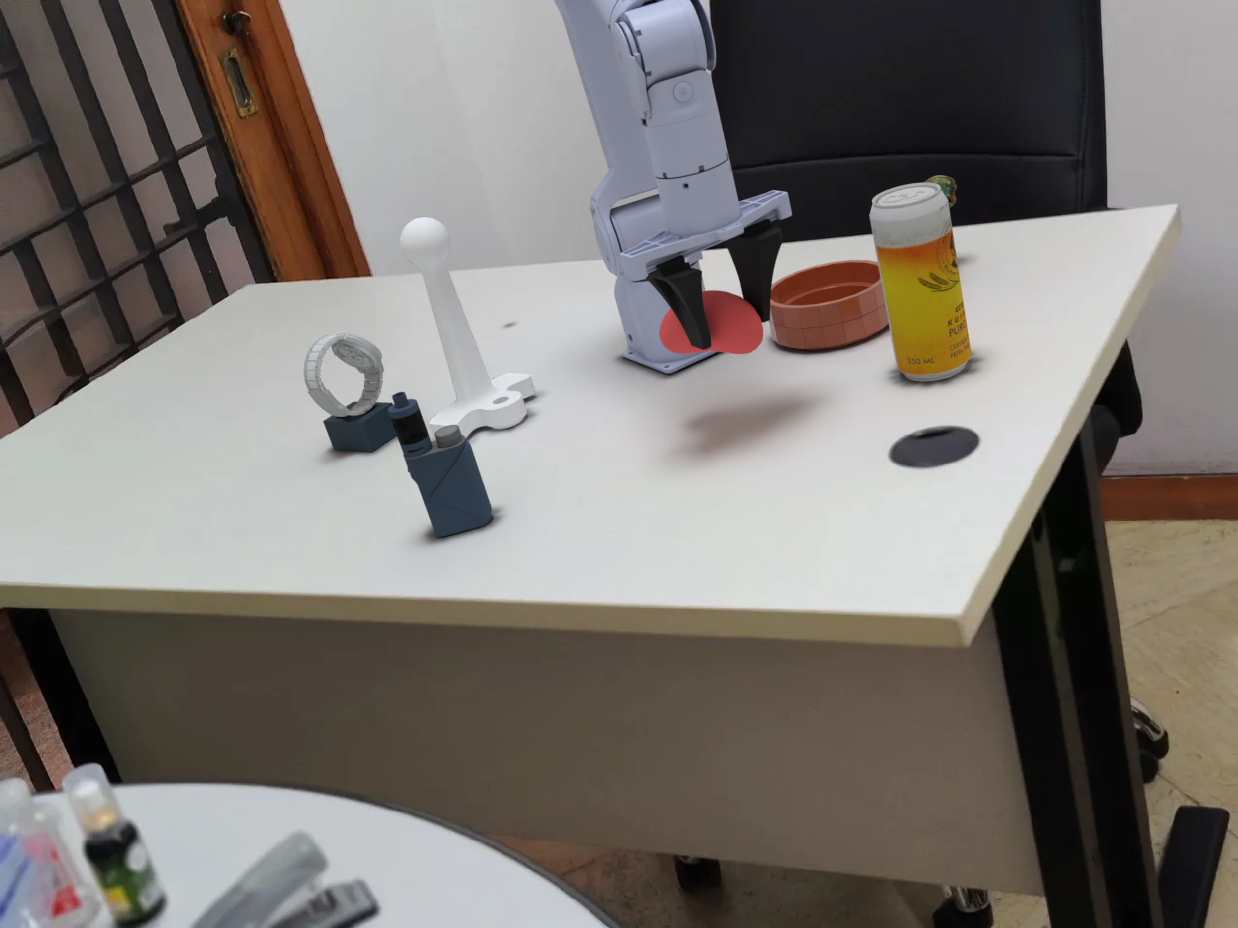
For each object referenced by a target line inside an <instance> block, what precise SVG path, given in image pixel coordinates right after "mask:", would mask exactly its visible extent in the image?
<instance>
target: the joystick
mask: <svg viewBox="0 0 1238 928" xmlns="http://www.w3.org/2000/svg"><path fill="white" fill-rule="evenodd" d="M399 246H400V251H401V252H402V254H403V256H404V257H405V259H406V260H407V261H408V262H410V263H411V264H412V265H414V266H415V267H416V268H417V269H418V270H419V272H420V274H421V275H422V278H423V282H424V286H425V289H426V292H427V296H428V299H429V303H430V307H431V310H432V315H433V318H434V322H435V324H436V329H437V332H438V337H439V340H440V343H441V347H442V351H443V354H444V357H445V361H446V364H447V368H448V371H449V374H450V380H451V383H452V386H453V390H454V393H455V397H456V400H454V401H452V402H451V403H449V404H448V405H447V406H446V407H444V408H443V409H442V410H441V411H439V412H438V413H437V414H435V415H434V417H432V418H431V419H430V420H429V421H428V425H429V428H430V431H431V435H432V437H433V441H436V439H435V436H434V433H435V432H436V431H437V430H439V429H440V428H443V427H445V426H449V425H457V426H459V429H460V432H461V435H464V436H465V438H466V439H467V438H468V436H469V435H470V434H472V432H473V431H475V430H476V429H479V428H482V427H489V428H492V429H494V430H504V429H508V428H511V427H514V426H517V425H518V424H520V423H521V422H523V420H524V419H525V418H524V417H525V416H526V415H527V414H528V411H527V407H526V404H525V401H524V399H526V398H528V397H531V396H534V395H535V394H536V392H537V391H536V388H535V385H534V382H533V378H532V375H531V374H529V373H516V372H507V373H504V374H502V375H500V376H497V377H495V378H493V379H490V376H489V373H488V370H487V367H486V366H485V363H484V360H483V357H482V355H481V352H480V349H479V347H478V345H477V343H476V339H475V336H474V334H473V330H472V329H471V326H470V323H469V321H468V318H467V316H466V313H465V310H464V308H463V306H462V302H461V300H460V298H459V295H458V293H457V290H456V287H455V285H454V283H453V279H452V277H451V275H450V274H451V273H450V272H449V269H448V266H447V257H448V253H449V252H450V248H451V238H450V234H449V232H448V230H447V228H446V226H444V224H442V223H441V222H440V221H439V220H437V219H434V218H433V217H426V216H425V217H424V216H422V217H417V218H414V219H412V220H411V221H409V222H408V223H407V224H406V225H405V226H404V228H403V229H402V231H401V234H400V237H399Z"/></svg>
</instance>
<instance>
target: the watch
mask: <svg viewBox="0 0 1238 928" xmlns="http://www.w3.org/2000/svg"><path fill="white" fill-rule="evenodd" d="M330 348H331V350H332V353H333V355H334V356H335V357H337V358H338V359H339V360H341V361H342V362H343V363H345V364H347V365H348V366H349V367H353V368H355V370H357V372H358V373H360V374H362V375H363V380H364V381H363V388H362V390H361V391H362V392H361V395H360V397H359V399H358V400H357V401H352V402H350V403H349V404H347V405H344V404H342V402H340V400H338V399H337V397H335V396H334V394H333V393H332V392H331V390H330V389H327V388H326V385H325V383H324V382H323V381H322V378H321V376H322V375H321V373H322V372H321V368H322V364H323V359H324V358H325V355H326V354H327V352H328V350H329V349H330ZM382 359H383V354H382V351H381V350H380V348H379V347H378V346H377V345H376V344H374V343H373V342H372V341H370V340H369V339H368V338H366V337H364V336H361V335H360V334H358V333H354V332H351V331H343V330H342V331H338V332H336V333H335V334H329V335H328V334H327V335H323V336H322V337H319V338H317V339H316V340H315V341H314V343H312V345H310V347H309V349H308V351H307V353H306V356H305V359H304V364H303V377H304V378H303V379H304V384H305V385H306V388H307V390H308V391H307V393H308V395H309V397H310V398H311V400H313V401H314V402H315V403H316V405H317V406H318V407H320V408H321V409H322V410H323V411H325V412H326V413H327V414H329V415H330V416H328V417H327V418H326V419H324V420H323V421H322V422H323V426H324V428H325V431H326V433H327V435H328V438H329V441H330V443H331V446H332V448H333V450H334V451H348V452H349V451H350V452H363V453H373V452H375V451H377V450H378V449H380V448H381V447H382V446H384V445H386V444H387V443H388V442H390V441H391V440H393V439H394V438H395V437H397V435H396V432H395V429H394V427H393V424H392V420H391V418H390V415H389V413H388V408H389V407H390V406H392V405H393V404H394V402H387V401H385V402H383V401H382V402H380V401H378V400H379V397H380V395H381V393H382V388H383V383H384V382H383V379H384V372H385V368H384V364H383V362H382Z"/></svg>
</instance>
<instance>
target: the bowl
mask: <svg viewBox="0 0 1238 928" xmlns="http://www.w3.org/2000/svg"><path fill="white" fill-rule="evenodd" d="M768 325H769V329H770V333H771V338H772V340H773V341H774V342H775V343H777V344H778V345H780V346H782V347H783V346H784V347H787V348H790V349H796V350H803V351H806V350H807V351H818V350H827V349H834V348H839V347H843V346H848V345H851V344H854V343H858V342H860V341H863V340H865V339H867V338H870V337H872V336H873V335H876V334H877V333H878V332H880V331H881V330H883V329H884V328H885V327H886V326H889V322H888V316H887V311H886V305H885V300H884V294H883V289H882V283H881V278H880V272H879V267H878V261H876V260H870V259H847V260H838V261H831V262H827V263H822V264H817V265H813V266H809V267H807V268H803V269H800V270H797V271H795V272H792V273H790V274H787V275H786V276H783V277H782V278H780V279H778V280H777V281H775V282H774V283H772V286H771V300H770V320H769V321H768Z"/></svg>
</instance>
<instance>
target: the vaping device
mask: <svg viewBox="0 0 1238 928" xmlns="http://www.w3.org/2000/svg"><path fill="white" fill-rule="evenodd" d="M406 394H407V393H406V392H405V391H399V392H395V393H394V394H393V395H391V398H392V401H393V405H392V406H390V407H389V408H388V413H389V415H390V418H391V420H392V424H393V427H394V429H395V432H396V435H397V436H396V437H397V440H398V444H399V446H400V448H401V451H402V457H403V459H404V462H405V463H406V467H407V469H406V470H407V472H408V473H409V475H410V478H411V479H412V481H414V482H415V484H416V485H417V487H418V490H419V493H420V496H421V498H422V501H423V504H424V507H425V509H426V512H427V515H428V518H429V521H430V523H431V526H432V529H433V532H434V535H435V537H436V538H443V537H446V536H452V535H456V534H459V533H462V532H466V531H469V530H473V529H474V530H475V529H478V528H480V527H483V526H485V525H487V524H488V523H489V522H490V521H491V520H492V512H493V507H492V504H491V501H490V498H489V495H488V491H487V488H486V486H485V483H484V480H483V476H482V474H481V471H480V468H479V466H478V463H477V459H476V456H475V453H474V451H473V448H472V445H471V443H470V442H469V441H468V440H467V437H466V438H465V436H464V435H461V432H460V429H459V426H457V425H449V426H445V427H443V428H440V429H439V430H437V431H436V432H435V433H434V436H435V439H436V441H435V440H433V441H432V439H431V437H430V436H431V435H430V434H429V431H428V428H427V425H426V423H425V420H424V417H423V414H422V410H421V408H420V405H419V402H418V400H417V399H415V398H408V396H407V395H406Z"/></svg>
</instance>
